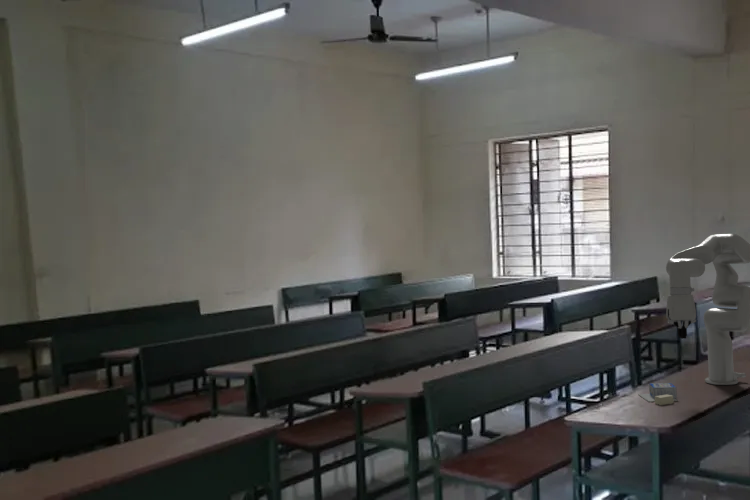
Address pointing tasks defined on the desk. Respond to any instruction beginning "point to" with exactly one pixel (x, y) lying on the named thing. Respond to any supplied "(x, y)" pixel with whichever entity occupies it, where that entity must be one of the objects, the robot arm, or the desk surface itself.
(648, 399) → the mat
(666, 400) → the pale yellow faceted block
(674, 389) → the medicine box
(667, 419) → the desk surface
